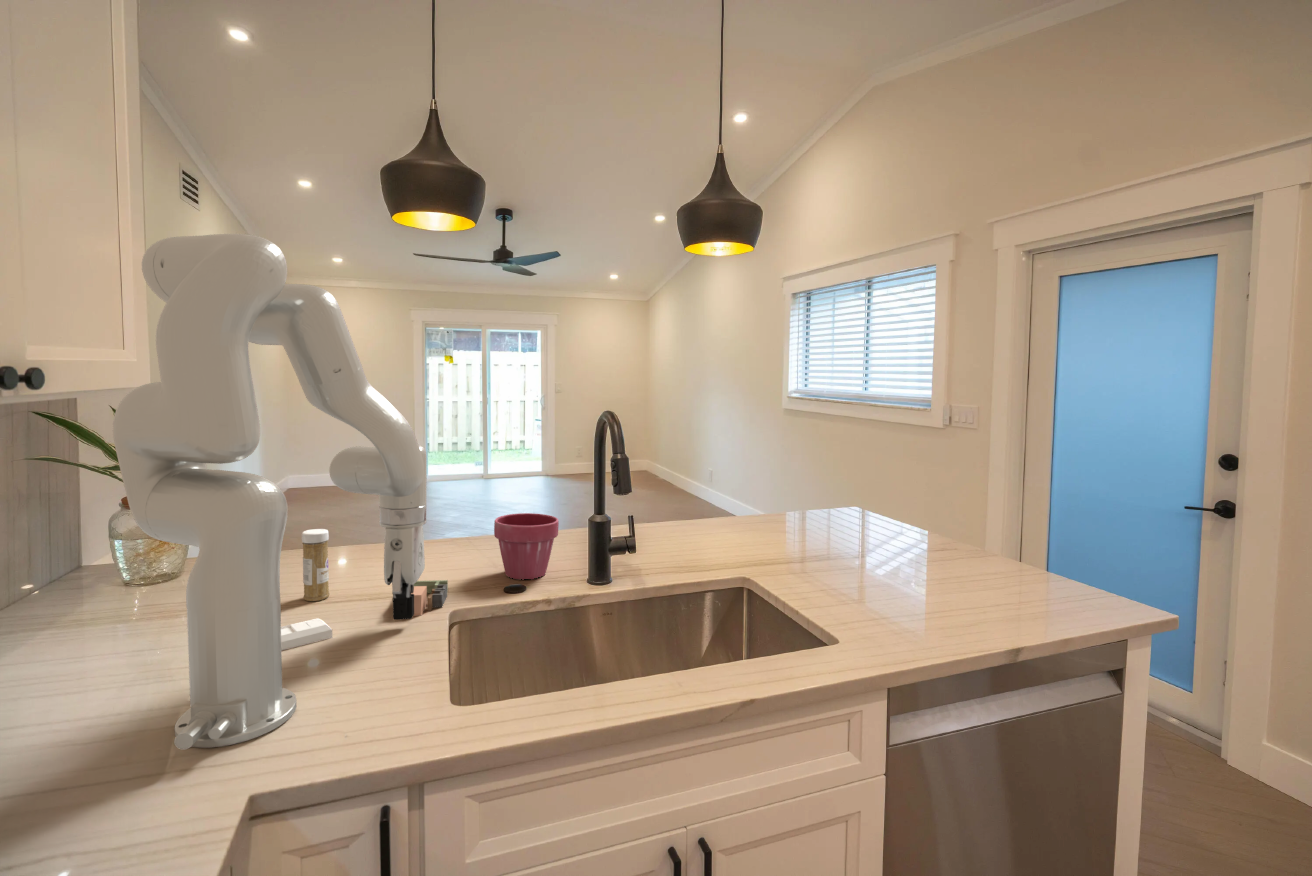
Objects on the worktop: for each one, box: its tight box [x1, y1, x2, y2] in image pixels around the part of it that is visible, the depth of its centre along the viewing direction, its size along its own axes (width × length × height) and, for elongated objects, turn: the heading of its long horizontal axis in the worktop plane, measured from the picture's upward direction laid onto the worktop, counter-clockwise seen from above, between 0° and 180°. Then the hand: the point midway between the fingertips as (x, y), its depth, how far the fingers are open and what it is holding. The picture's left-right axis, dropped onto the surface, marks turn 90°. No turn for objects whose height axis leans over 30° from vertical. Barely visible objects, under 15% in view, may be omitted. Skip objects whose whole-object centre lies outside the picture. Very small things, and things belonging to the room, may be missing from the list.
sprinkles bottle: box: [301, 528, 330, 602], centre depth 117 cm, size 5×5×14 cm
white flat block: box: [281, 617, 333, 652], centre depth 99 cm, size 5×9×3 cm, turn 136°
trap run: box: [414, 579, 449, 612], centre depth 118 cm, size 10×8×2 cm
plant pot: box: [493, 512, 559, 581], centre depth 137 cm, size 14×14×13 cm
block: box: [411, 586, 428, 617], centre depth 113 cm, size 5×4×4 cm
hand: (403, 617), depth 106 cm, fingers closed
